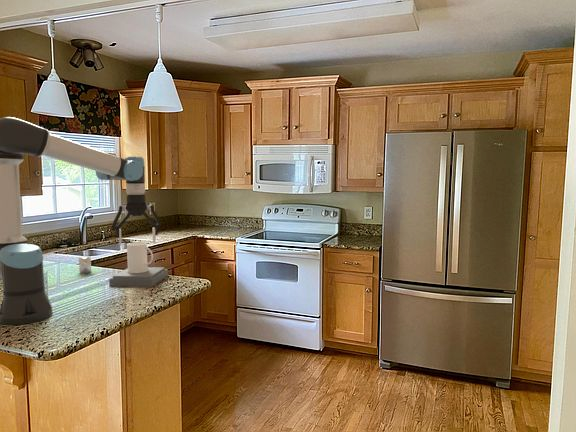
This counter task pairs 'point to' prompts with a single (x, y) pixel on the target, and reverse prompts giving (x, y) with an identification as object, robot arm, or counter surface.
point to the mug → (138, 257)
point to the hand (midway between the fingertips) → (137, 244)
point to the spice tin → (84, 265)
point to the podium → (139, 277)
